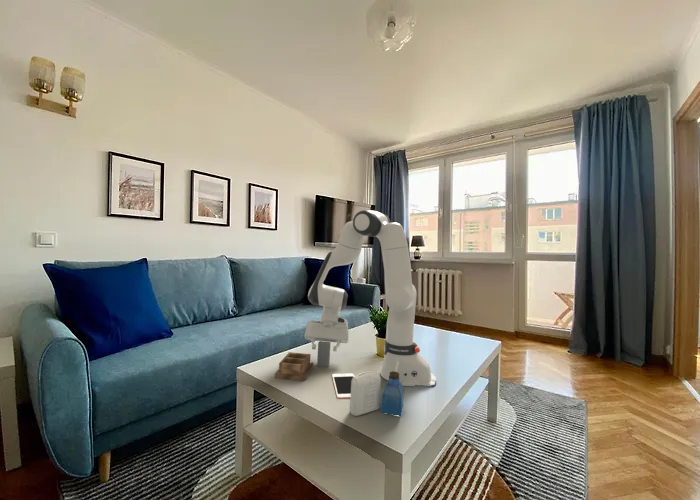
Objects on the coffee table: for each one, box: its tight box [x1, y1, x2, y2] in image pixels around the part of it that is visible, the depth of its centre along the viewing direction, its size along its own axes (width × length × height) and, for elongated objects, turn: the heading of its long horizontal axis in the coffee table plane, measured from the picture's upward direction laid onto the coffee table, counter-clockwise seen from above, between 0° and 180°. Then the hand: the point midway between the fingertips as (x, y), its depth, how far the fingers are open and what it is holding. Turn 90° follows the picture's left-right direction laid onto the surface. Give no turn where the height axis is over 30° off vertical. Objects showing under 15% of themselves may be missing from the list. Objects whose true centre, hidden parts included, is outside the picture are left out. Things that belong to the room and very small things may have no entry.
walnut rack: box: [274, 351, 314, 382], centre depth 118 cm, size 12×14×6 cm
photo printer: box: [349, 370, 382, 417], centre depth 93 cm, size 10×4×12 cm, turn 124°
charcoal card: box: [316, 341, 332, 368], centre depth 126 cm, size 5×2×10 cm, turn 84°
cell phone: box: [331, 373, 355, 400], centre depth 109 cm, size 9×18×1 cm, turn 10°
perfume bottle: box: [380, 371, 405, 417], centre depth 94 cm, size 6×6×12 cm
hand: (324, 349), depth 127 cm, fingers open, 8 cm apart
